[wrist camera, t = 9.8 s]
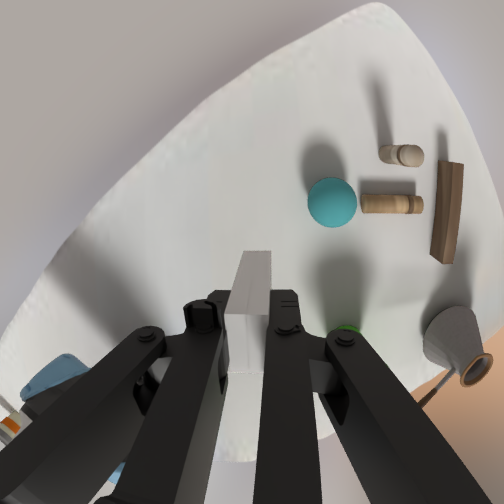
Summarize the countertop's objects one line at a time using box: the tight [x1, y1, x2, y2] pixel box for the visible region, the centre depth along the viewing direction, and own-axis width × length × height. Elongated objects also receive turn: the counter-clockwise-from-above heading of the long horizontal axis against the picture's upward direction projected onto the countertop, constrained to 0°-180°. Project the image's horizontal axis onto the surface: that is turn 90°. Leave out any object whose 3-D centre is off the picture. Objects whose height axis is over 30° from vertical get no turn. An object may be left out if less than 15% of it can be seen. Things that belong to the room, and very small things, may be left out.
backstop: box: [430, 160, 464, 264], centre depth 33 cm, size 2×14×4 cm, turn 2°
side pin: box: [379, 145, 424, 167], centre depth 30 cm, size 2×2×8 cm
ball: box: [308, 178, 357, 228], centre depth 33 cm, size 6×6×6 cm
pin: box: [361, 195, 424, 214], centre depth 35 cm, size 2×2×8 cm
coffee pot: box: [418, 306, 493, 408], centre depth 35 cm, size 21×12×15 cm, turn 119°
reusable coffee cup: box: [0, 411, 21, 446], centre depth 63 cm, size 12×13×15 cm
